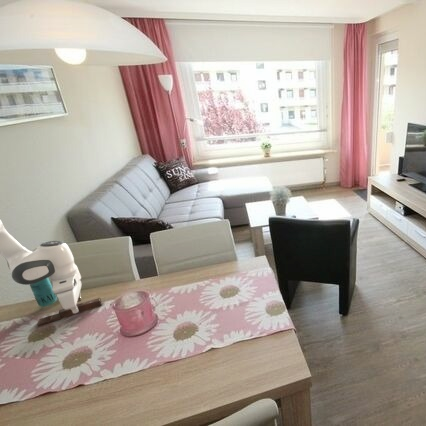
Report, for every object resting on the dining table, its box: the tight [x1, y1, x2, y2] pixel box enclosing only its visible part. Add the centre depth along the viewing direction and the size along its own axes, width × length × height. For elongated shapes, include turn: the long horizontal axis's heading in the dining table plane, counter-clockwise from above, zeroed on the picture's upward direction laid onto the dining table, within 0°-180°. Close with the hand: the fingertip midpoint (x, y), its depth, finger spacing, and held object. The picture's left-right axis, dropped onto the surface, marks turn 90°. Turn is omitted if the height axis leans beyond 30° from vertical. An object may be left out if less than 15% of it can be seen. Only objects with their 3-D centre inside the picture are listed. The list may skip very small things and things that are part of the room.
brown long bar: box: [36, 297, 103, 327], centre depth 122 cm, size 21×4×3 cm, turn 123°
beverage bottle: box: [29, 277, 58, 308], centre depth 126 cm, size 6×7×20 cm
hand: (77, 306), depth 123 cm, fingers open, 8 cm apart
